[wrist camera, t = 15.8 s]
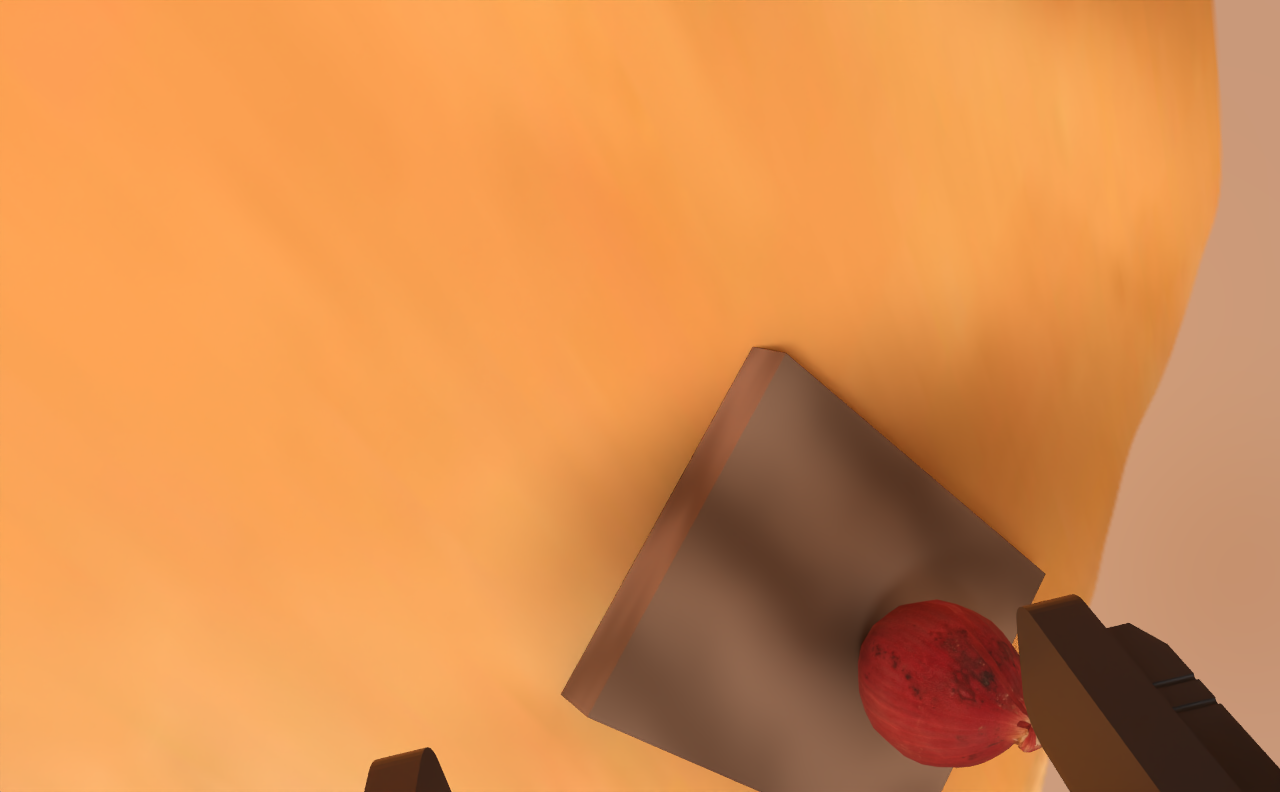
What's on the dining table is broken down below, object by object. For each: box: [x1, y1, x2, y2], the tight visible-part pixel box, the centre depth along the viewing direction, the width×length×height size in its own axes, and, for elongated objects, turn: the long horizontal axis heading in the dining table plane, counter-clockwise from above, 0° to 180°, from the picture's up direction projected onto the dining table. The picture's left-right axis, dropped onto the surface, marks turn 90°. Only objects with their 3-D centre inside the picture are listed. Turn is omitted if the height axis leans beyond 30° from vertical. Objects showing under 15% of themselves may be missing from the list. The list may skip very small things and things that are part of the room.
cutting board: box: [561, 347, 1045, 792], centre depth 40 cm, size 14×20×2 cm
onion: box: [858, 599, 1042, 768], centre depth 36 cm, size 6×6×8 cm
